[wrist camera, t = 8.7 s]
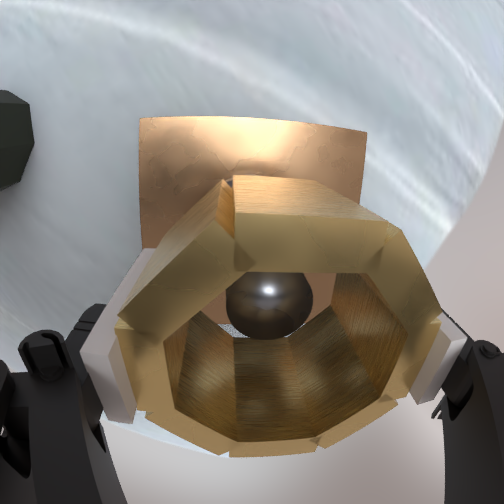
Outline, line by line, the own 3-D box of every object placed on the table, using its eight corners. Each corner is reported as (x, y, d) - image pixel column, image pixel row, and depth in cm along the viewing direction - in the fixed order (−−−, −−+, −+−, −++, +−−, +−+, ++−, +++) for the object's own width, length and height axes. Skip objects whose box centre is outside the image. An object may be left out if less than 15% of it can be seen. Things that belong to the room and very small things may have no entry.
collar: (172, 353, 14) (153, 452, 8) (161, 173, 11) (95, 211, 5) (339, 351, 15) (379, 439, 9) (375, 186, 12) (471, 230, 6)
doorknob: (153, 313, 21) (122, 411, 12) (144, 119, 16) (70, 107, 7) (332, 314, 23) (379, 403, 14) (360, 132, 17) (457, 139, 9)
